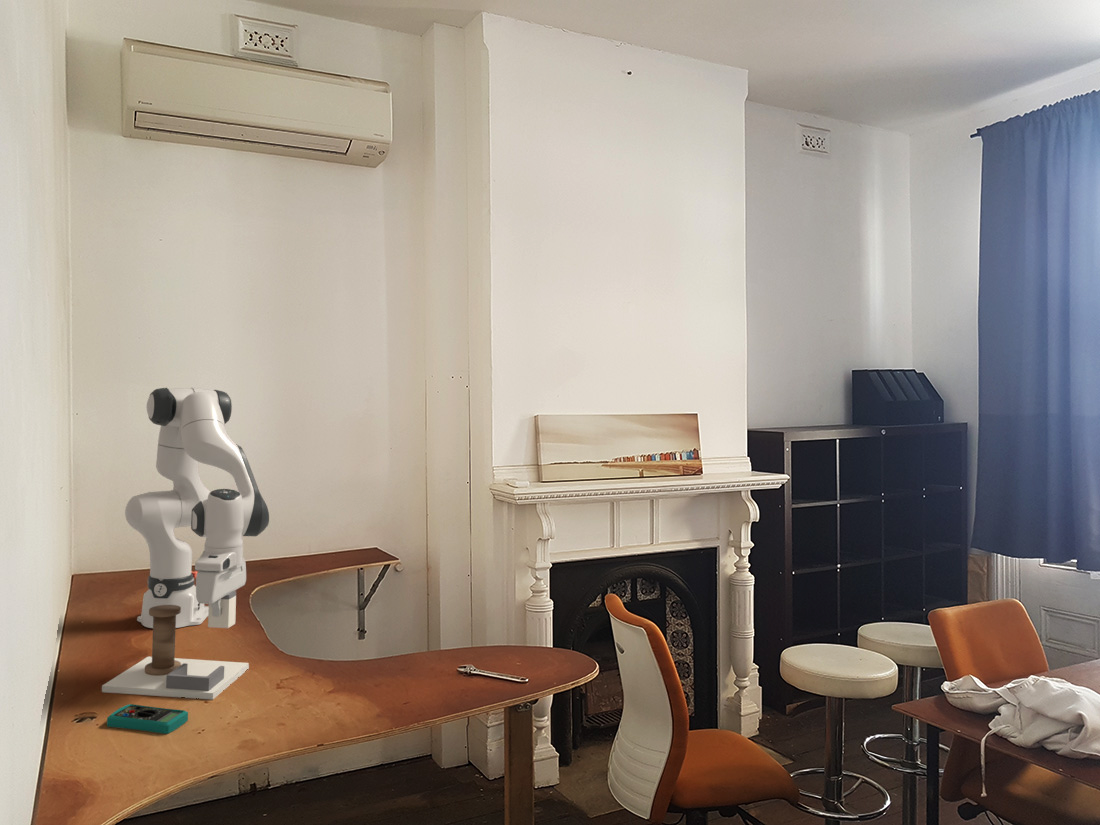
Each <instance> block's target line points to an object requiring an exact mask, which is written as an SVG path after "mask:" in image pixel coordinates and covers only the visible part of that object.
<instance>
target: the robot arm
mask: <svg viewBox="0 0 1100 825" xmlns="http://www.w3.org/2000/svg"><path fill="white" fill-rule="evenodd" d="M146 412H147V415H148V419H149V420H150V422H151V423H152V424H154V425H158V426H160V428H159V433H158V440H157V450H156V461H155V462H156V463H155V467H156V469H157V472H158V474H160V475H161V476H162V477H163V478H165V479H168V480H170V481H172V483H173V485H172V486H173V488H172V489H171V490H161V491H148V492H144V493H139V494H137V495H134V496H132V497H131V498H130V499H129V500H128V502H127V504H126V507H125V511H124V515H125V518H126V519H125V520H126V521H127V524H129V526H130V527H132V529H134V530H135V531H137V532H138V533H140V534H141V535H142V537H143V538H144V539H145V542H146V544H147V547H148V550H149V566H150V568H149V575H148V577H147V589H148V590H146V591H145V592H144V593H143V598H142V599H143V600H142V606H141V613H140V614H141V615H139V616H137V618H136V621H137V622H139V623H141V625H142V626H144V627H145V628H149V629H153V616H150V615H149V609H150V608H152V607H155V606H160V605H177V606H180V607H181V612H180V613H179V614H177V615H176V629H177V628H178V629H179V628H183V627H189V626H197V625H201V624H202V623H203V622H204V621H205V620H206V619H208V610H209V604H210V605H211V608H212V615H213V616H214V617H218V616H220V615H221V614H222V608H221V607H220V602H221V598H223V597H224V596H226V595H227V594H229V593H231V592H233V591H237V590H238V589H240V588H242V587H244V586H245V585H246V582H247V566H246V565H247V564H246V559H245V558H244V540H243V537H257V536H259V535H260V534H262V533H263V532H264V531H265V530H266V528H267V527H268V526H269V523H270V513H269V509H268V505H267V503H266V501H265V499H264V498H263V496H262V494H261V492H260V489H259V486H258V484H257V481H256V479H255V476H254V473H253V471H252V468H251V465H250V463H249V460H248V458H247V455H246V453H245V451H244V450H243V448H242V446H240V445H238V444H236V443H235V442H234V441H233V440H232V439H231V437H230V436H229V435H228V433H227V432H228V431H227V429H226V424H228V422H229V421H230V419H231V416H232V412H233V404H232V399H231V397H230V396H229V394H228V393H227V392H225V391H222V390H218V389H206V388H201V387H200V388H199V387H176V388H168V387H161V388H156V389H154V390H153V391H152V392H150V394H149V396H148V398H147V401H146ZM199 463H201V464H204V465H207V466H212V467H215V468H217V469H221V470H223V471H225V472H227V473H229V474H230V475H231V477H232V478H233V479H234V483H235V486H236V488H237V490H235V489H231V488H219V489H218V488H217V489H214V490H212V491H211V490H210V489H208V488H207V487H206V486H205V484H204V482H203V481H202V479H201V477H200V470H199ZM186 527H190V528H191V529H190V530H191V531H192V532H193V533H195V534H196V535H197V536H198V537H200V538H205V541H204V545H203V546H204V547H203V548H204V550H203V551H202V553H201V555H200V556H199V557H198V559H197V560H196V561H195V563H194V569H195V571H192V567H193V566H192V565H193V564H192V563H193V561H192V560H193V550H192V548H191V545H190V544H189V543H187V542H186V541H184V540H182V539H179V538H177V537H176V535H175V528H186Z"/></svg>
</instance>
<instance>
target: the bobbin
mask: <svg viewBox="0 0 1100 825" xmlns="http://www.w3.org/2000/svg"><path fill="white" fill-rule="evenodd" d="M180 612H181V607H180V606H177V605H160V606H155V607H152V608H150V609H149V615H150V616H153V628H152V645H151V646H152V647H151V650H152V651H151V657H152V662H151V663H149V664H147V665H146V666H145V673H146V674H149V675H156V676H159V675H168V674H169V673H171V672H172V671H173V670H175V669H176V668H178V667H179V666H181V663H180V662H179V661H176V660H175V658H176V657H175V654H176V653H175V651H176V629H177V628H176V615H177V614H179V613H180Z"/></svg>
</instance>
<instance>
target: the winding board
mask: <svg viewBox="0 0 1100 825" xmlns="http://www.w3.org/2000/svg"><path fill="white" fill-rule="evenodd" d="M175 660H176V661H179V662H180V663H181V666H179V667H178V668H176V669H175V670H173V671H172V672H171V673H169V674H168V675H159V676H156V675H149V674H146V673H145V666H146V665H147V664H149V663H151V662H152V656H146V657H144V658H143V659H142V660H140V661H139V662H138V663H136V664H133V665H132V666H131V667H129V668H127V669H126V670H125V671H122V672H121V673H120V674H118V675H116V676H115V677H113V678H112V679H110V680H109V681H107V682H106V683H104V684H102V685H101V692H102V693H109V694H124V695H136V696H137V695H139V696H157V697H168V698H169V697H171V698H181V697H185V698H184V699H196V698H197V699H198V698H199V699H198V700H200V699H201V700H212V701H213V700H214V699H216V698H217V697H218V696H219V695H221V693H222V692H224V691H225V690H226V689H227V688H228V687H229V686H231V685H232V684H233V683H234V682H236V681H237V680H238V679H239V678H240V677H241V676H242V675H243V674H245V673H246V672H247V671H248V670H249V668H250V665H249V662H240V661H239V662H237V661H222V660H210V659H207V660H206V659H195V658H193V659H192V658H178V657H177V658H176V657H175ZM247 669H248V670H247ZM246 670H247V671H246ZM245 671H246V672H245ZM238 677H239V678H238ZM230 684H231V685H230ZM223 690H224V691H223Z"/></svg>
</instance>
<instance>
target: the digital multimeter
mask: <svg viewBox="0 0 1100 825" xmlns="http://www.w3.org/2000/svg"><path fill="white" fill-rule="evenodd" d="M188 720H189V712H188V711H186V710H183V709H176V708H175V709H174V708H165V707H156V706H155V707H154V706H149V705H147V706H146V705H140V704H134V703H133V704H131V703H129V704H126V705H124V706H121V707H119V708H118V709H117V710H115V711H113V712H112V713H111V714H110V715H108V716H107V718H106V727H110V728H117V729H118V728H119V729H127V730H134V731H135V730H136V731H143V732H150V733H157V734H161V735H162V734H164V735H168V734H170V733H172V732H174V731H176V730H178V729H179V728H180V727H182V726H183V725H184V724H185V723H186V722H188Z"/></svg>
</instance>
